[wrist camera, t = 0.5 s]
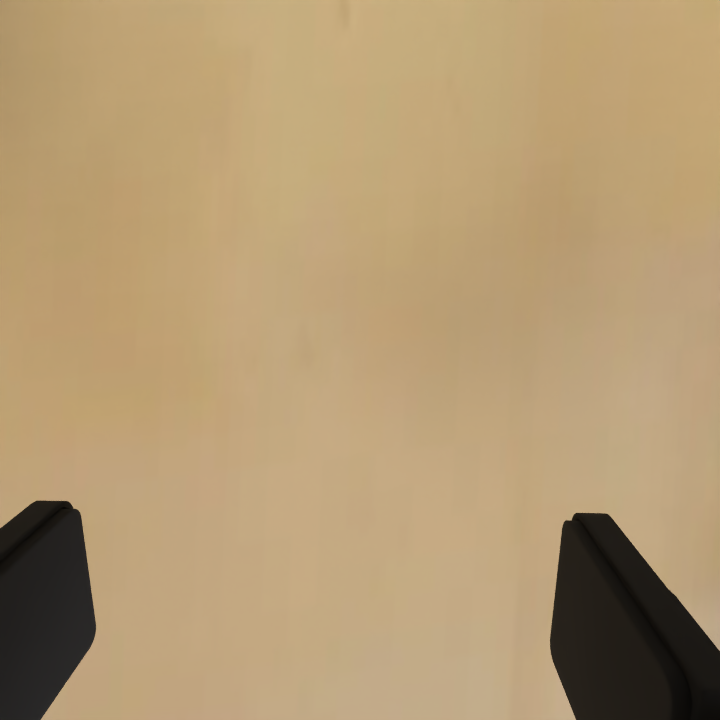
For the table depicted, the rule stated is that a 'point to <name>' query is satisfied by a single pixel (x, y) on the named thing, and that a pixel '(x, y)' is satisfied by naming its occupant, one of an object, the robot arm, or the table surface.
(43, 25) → the table surface
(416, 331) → the table surface
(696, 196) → the table surface
